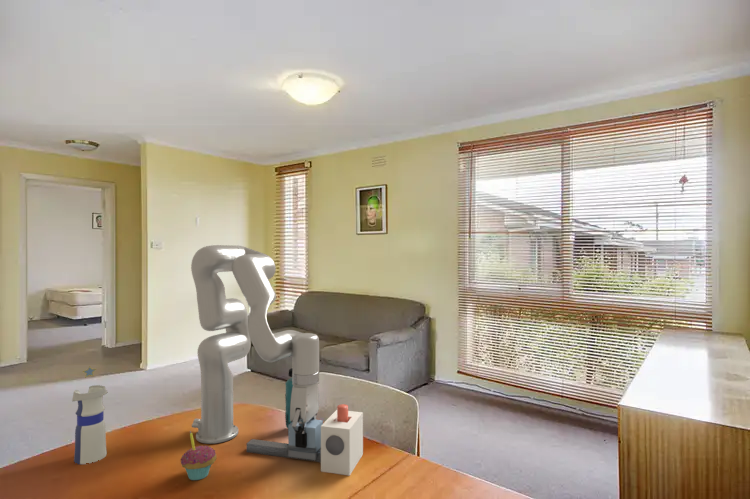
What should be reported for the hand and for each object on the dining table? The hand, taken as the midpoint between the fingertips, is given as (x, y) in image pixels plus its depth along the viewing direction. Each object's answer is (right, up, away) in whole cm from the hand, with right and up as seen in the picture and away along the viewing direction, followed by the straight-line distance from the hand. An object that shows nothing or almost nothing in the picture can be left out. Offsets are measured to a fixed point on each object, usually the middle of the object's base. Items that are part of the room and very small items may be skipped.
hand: (305, 441), depth 121 cm
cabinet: (+11, -5, -3) cm, 12 cm away
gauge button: (+11, +4, -3) cm, 12 cm away
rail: (-5, -5, +1) cm, 7 cm away
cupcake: (-26, -5, -9) cm, 28 cm away
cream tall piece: (-61, -5, 0) cm, 61 cm away
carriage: (0, -3, 0) cm, 3 cm away
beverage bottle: (-6, -5, +18) cm, 20 cm away
